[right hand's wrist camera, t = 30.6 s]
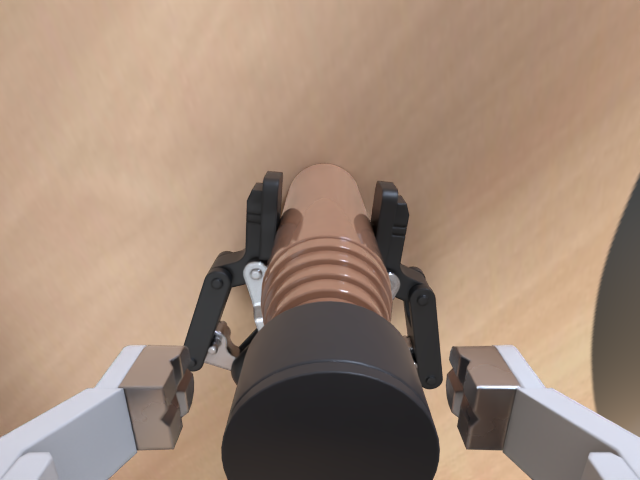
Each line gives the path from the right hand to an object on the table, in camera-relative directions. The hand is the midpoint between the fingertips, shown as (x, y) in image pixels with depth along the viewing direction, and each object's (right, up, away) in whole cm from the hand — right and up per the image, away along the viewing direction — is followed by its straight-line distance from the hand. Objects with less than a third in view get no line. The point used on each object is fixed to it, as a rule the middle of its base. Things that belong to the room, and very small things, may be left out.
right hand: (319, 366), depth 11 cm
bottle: (0, +6, +15) cm, 16 cm away
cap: (0, -1, -2) cm, 3 cm away
